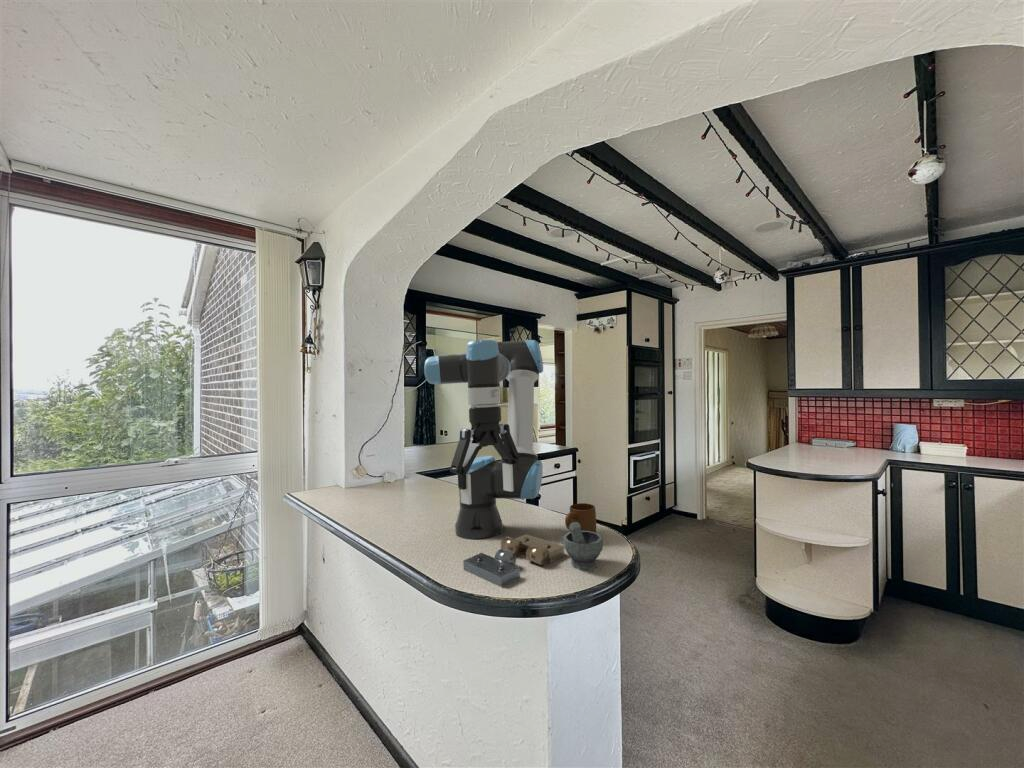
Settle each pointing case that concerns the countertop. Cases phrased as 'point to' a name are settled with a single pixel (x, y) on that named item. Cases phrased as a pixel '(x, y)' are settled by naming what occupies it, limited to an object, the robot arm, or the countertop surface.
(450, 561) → the countertop surface
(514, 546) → the fixed leaf
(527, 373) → the robot arm
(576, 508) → the mug
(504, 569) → the loose leaf
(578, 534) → the mortar and pestle
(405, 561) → the countertop surface
